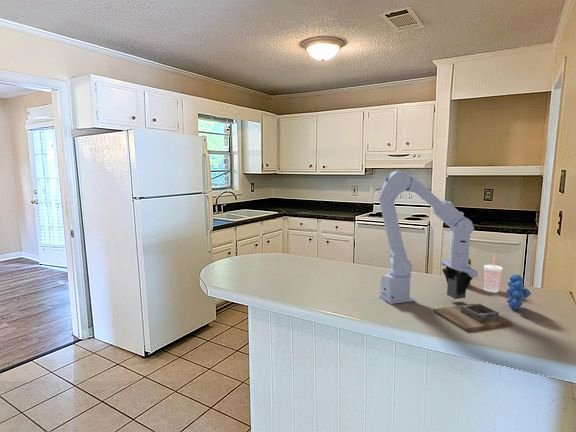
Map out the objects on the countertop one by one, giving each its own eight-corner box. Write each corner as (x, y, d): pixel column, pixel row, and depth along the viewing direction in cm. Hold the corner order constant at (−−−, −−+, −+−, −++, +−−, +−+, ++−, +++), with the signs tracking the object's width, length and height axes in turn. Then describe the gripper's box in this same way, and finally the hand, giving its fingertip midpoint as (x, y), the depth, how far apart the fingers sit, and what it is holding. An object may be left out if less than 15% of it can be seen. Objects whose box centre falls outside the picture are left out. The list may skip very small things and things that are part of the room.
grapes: (534, 319, 107) (538, 280, 106) (508, 315, 110) (511, 278, 108) (525, 305, 118) (528, 270, 116) (501, 302, 121) (504, 267, 119)
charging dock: (466, 331, 99) (467, 321, 99) (433, 312, 112) (433, 303, 112) (511, 324, 103) (512, 315, 103) (474, 306, 117) (475, 297, 116)
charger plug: (455, 299, 118) (456, 278, 117) (446, 294, 122) (448, 275, 121) (465, 297, 119) (466, 277, 118) (456, 293, 123) (458, 274, 122)
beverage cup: (494, 287, 135) (497, 251, 133) (504, 293, 129) (507, 255, 127) (478, 287, 135) (481, 251, 133) (488, 293, 129) (491, 255, 127)
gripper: (486, 257, 112) (483, 298, 114) (453, 246, 126) (451, 283, 128) (468, 258, 110) (464, 300, 112) (436, 248, 124) (434, 285, 126)
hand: (456, 291), depth 120 cm, fingers closed on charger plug, 4 cm apart
